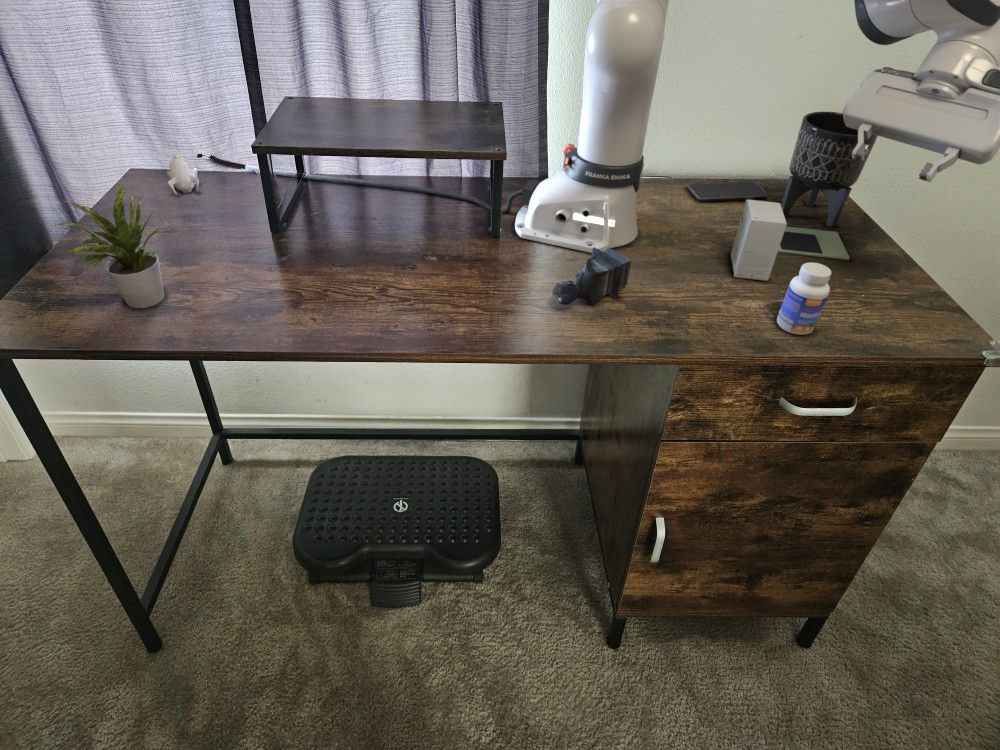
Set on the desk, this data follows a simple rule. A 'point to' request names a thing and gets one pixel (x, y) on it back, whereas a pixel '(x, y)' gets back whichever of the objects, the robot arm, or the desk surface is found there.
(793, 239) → the felt pad
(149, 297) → the house plant
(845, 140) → the planter
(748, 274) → the small box
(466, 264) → the desk surface
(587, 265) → the dark statue fragment
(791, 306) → the pill bottle
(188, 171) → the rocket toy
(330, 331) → the desk surface
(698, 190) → the smartphone
